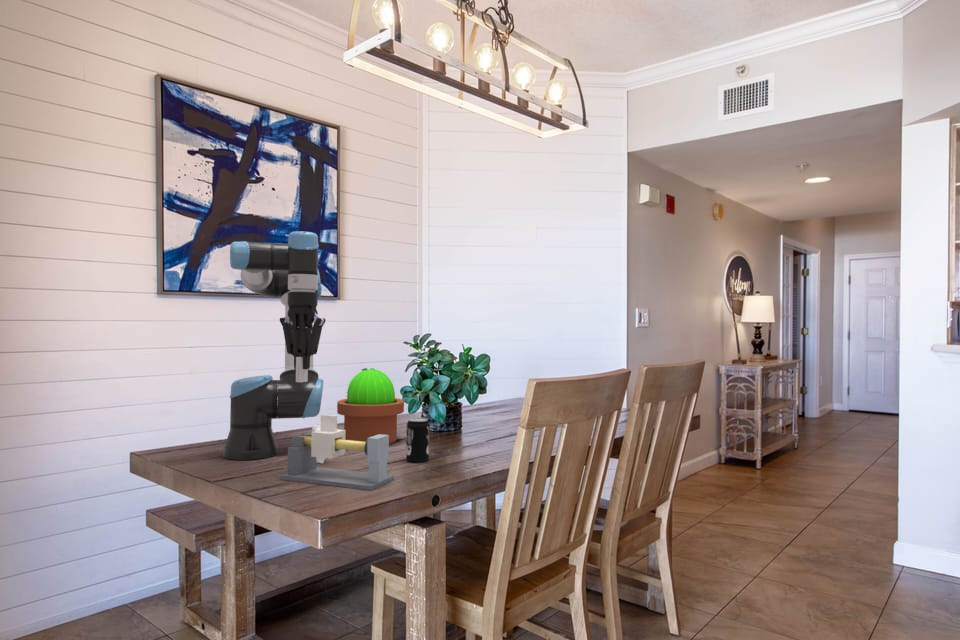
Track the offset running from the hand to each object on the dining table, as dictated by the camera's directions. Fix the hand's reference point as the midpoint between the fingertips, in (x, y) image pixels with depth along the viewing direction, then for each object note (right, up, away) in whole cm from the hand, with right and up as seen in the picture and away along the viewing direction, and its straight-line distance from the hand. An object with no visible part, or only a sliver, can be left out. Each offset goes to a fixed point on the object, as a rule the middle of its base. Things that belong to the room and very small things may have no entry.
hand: (301, 381), depth 159 cm
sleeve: (+8, -19, -3) cm, 20 cm away
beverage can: (+28, -25, +18) cm, 42 cm away
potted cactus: (+10, -25, +45) cm, 53 cm away
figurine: (+1, -25, +17) cm, 30 cm away
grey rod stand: (+10, -25, -4) cm, 27 cm away
